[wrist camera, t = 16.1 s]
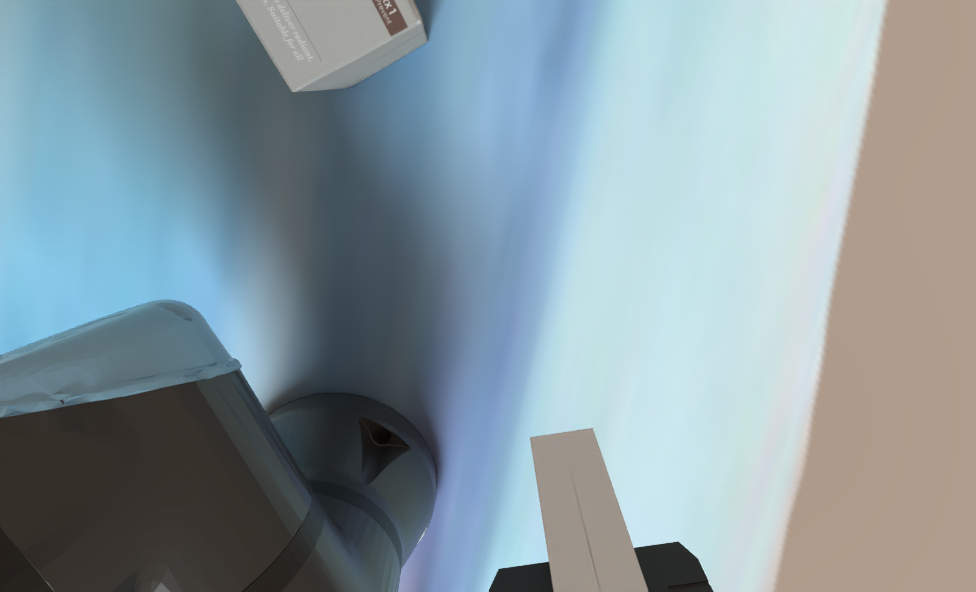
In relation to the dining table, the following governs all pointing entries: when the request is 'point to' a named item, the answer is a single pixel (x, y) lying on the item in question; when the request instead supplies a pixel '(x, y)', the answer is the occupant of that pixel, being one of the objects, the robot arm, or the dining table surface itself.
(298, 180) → the dining table surface
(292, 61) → the skincare box
